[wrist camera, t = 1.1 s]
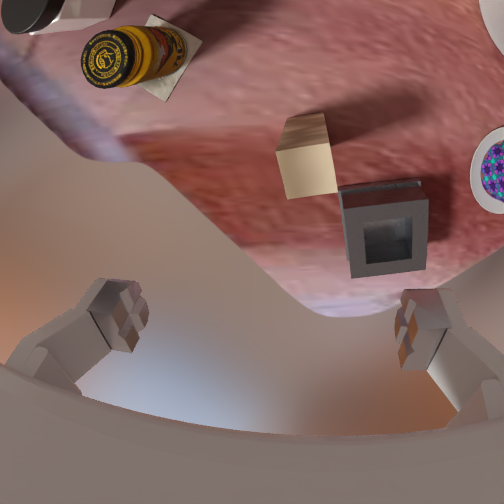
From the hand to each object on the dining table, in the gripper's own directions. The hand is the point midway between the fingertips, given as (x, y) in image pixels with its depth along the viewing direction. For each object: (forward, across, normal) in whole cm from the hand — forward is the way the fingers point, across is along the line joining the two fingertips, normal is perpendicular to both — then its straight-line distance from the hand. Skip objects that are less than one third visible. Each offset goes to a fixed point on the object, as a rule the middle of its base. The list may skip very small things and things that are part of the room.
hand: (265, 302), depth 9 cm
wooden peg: (+28, -1, +2) cm, 28 cm away
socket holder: (+28, -10, +13) cm, 32 cm away
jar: (+28, +23, -19) cm, 41 cm away
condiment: (+28, +15, -8) cm, 33 cm away
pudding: (+28, -27, +5) cm, 39 cm away
